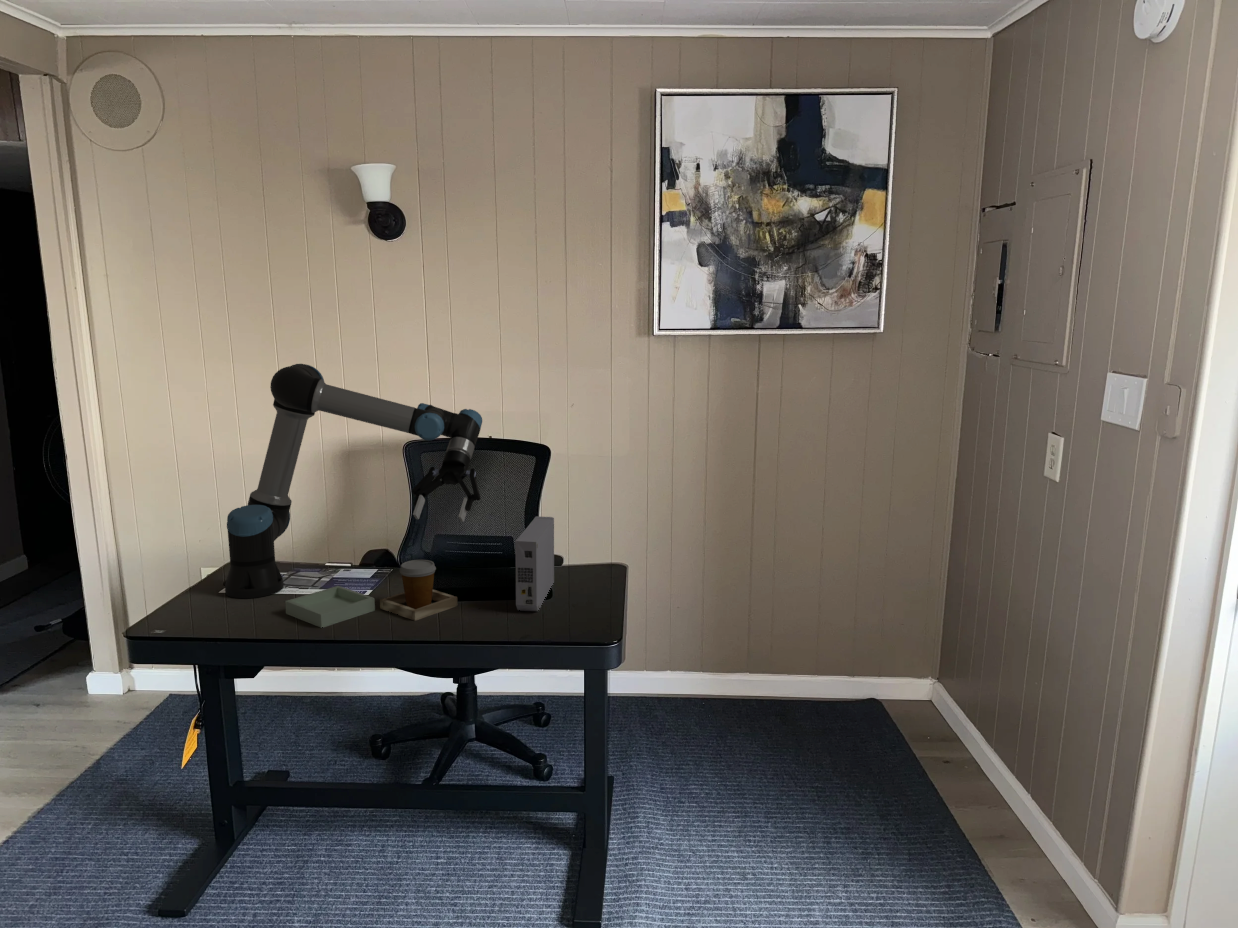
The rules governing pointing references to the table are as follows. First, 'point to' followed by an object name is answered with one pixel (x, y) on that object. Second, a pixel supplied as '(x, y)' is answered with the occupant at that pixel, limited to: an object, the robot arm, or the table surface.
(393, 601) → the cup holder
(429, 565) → the disposable coffee cup
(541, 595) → the game console
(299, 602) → the tray
